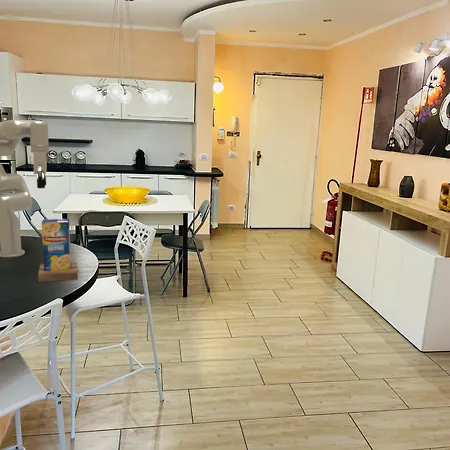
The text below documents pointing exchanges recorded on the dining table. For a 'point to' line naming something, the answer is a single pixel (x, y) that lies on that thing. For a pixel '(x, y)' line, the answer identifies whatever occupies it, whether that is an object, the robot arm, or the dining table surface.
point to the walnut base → (57, 274)
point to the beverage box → (56, 244)
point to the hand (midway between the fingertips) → (41, 186)
